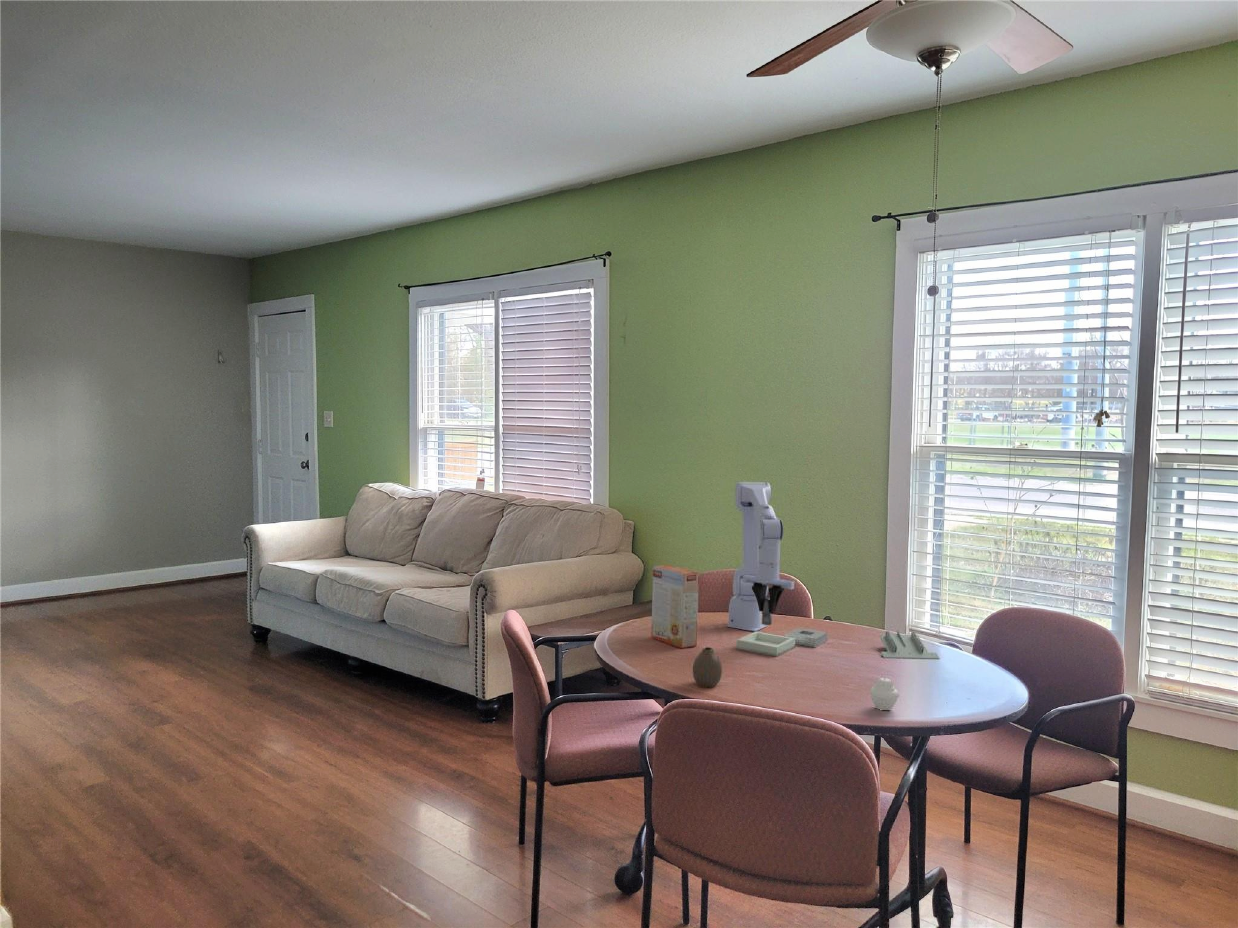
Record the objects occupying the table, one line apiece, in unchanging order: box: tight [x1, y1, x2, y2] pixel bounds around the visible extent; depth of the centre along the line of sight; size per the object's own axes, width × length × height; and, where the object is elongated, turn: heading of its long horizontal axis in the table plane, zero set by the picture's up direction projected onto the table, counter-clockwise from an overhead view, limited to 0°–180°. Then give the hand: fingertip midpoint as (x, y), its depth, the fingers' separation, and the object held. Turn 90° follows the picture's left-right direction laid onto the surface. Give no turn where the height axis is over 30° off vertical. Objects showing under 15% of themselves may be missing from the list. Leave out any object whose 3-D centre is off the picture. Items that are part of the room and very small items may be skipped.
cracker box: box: [650, 564, 700, 649], centre depth 243 cm, size 14×6×21 cm, turn 34°
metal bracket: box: [878, 630, 940, 661], centre depth 239 cm, size 14×6×15 cm
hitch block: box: [784, 627, 828, 648], centre depth 248 cm, size 9×9×2 cm
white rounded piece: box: [869, 677, 900, 711], centre depth 192 cm, size 6×6×7 cm
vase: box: [692, 646, 723, 688], centre depth 206 cm, size 7×7×9 cm
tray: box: [736, 630, 796, 657], centre depth 240 cm, size 12×12×2 cm
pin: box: [761, 597, 773, 626], centre depth 240 cm, size 3×3×7 cm
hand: (767, 611), depth 239 cm, fingers closed on pin, 3 cm apart
